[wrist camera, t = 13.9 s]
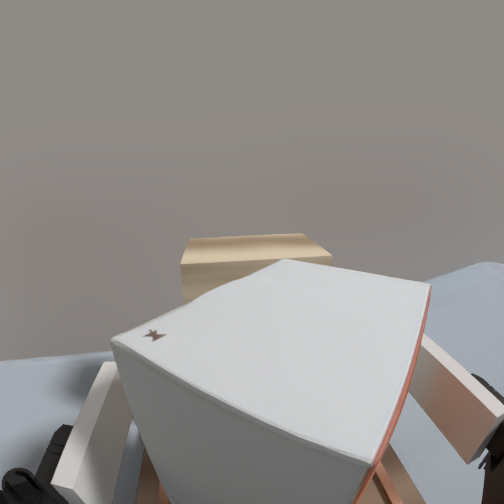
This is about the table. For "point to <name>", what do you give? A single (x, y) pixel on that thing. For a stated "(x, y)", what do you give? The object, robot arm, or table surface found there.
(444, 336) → the table surface
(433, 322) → the table surface
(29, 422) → the table surface
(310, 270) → the small box
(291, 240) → the wooden tray with block
